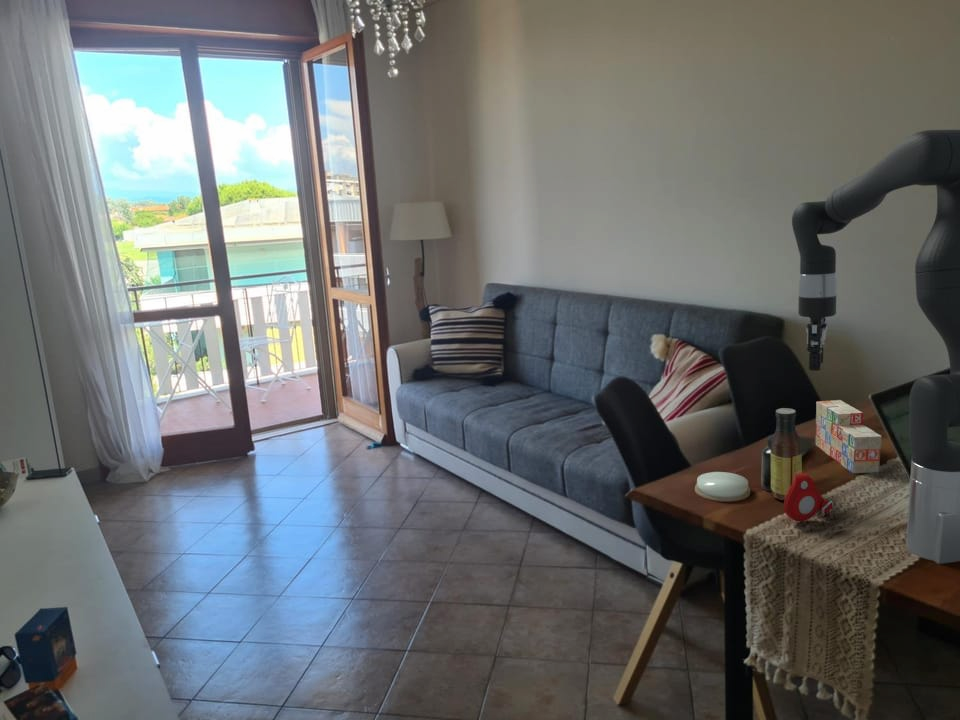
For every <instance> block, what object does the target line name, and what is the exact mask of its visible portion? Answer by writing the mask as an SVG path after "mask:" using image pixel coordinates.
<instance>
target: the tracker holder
mask: <svg viewBox="0 0 960 720" xmlns="http://www.w3.org/2000/svg"><path fill="white" fill-rule="evenodd" d="M783 501H784V502H783V510H784V513H785V514H786V516H787V517H788V518H790V519H791V520H793V521H795V522H806V521H808V520H810V519H811V518H813V517H814V516H815V515H816V514H817V512H818V511H819V512H821V516H823V517H825V516H828V515H830V514H832V510H833V509H834V502H833V500H831V499H830V500H826V499H824V496H822V495H821V494H820V491H819V489H818V487H817V485H816V482H815V481H814V479H813V478H812V477H810V476H809V475H808V474H806V473H805V472H802V473H799V474H794V480H793V483H792V486H791V487H790V489H789V491H788V493H787V495H786V498H785V500H783ZM824 515H825V516H824Z"/></svg>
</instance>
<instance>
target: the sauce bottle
mask: <svg viewBox="0 0 960 720" xmlns="http://www.w3.org/2000/svg"><path fill="white" fill-rule="evenodd" d="M796 418H797V411H796V409H793V408H787V407H786V408H785V407H782V408H778V409H776V410H775V419H776V426H775V427H776V428H775V431H774V434H773V435H774V436H773V438H772V441H771V489H772V492H771V495H772V496H773V498H775V499H777V500H780V501H785V498H786V495H787V493H788V491H789V489H790V487H791V486H792V483H793V480H794V474H799V473H803V469H802V463H803V462H802V459H803V458H802V457H803V456H802V441H801V437H800V436H799V434H798V432H797V430H796Z"/></svg>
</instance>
